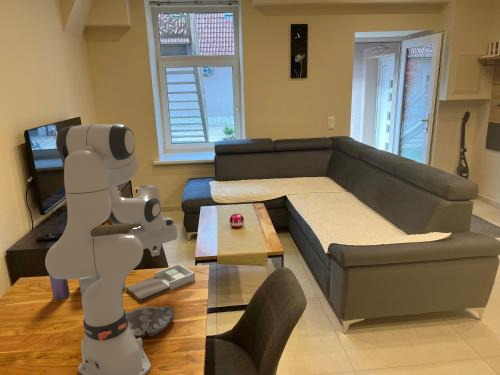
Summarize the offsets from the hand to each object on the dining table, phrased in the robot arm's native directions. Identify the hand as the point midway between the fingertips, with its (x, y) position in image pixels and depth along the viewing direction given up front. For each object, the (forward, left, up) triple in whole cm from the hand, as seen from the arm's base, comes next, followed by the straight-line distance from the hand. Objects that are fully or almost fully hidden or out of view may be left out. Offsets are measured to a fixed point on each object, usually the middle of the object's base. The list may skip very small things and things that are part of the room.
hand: (155, 255), depth 155 cm
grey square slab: (-2, +6, -13) cm, 14 cm away
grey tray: (-2, -7, -13) cm, 15 cm away
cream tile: (-5, -7, -13) cm, 15 cm away
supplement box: (+15, +18, -14) cm, 27 cm away
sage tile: (+1, -7, -13) cm, 15 cm away
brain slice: (-24, +18, -14) cm, 33 cm away
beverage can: (+19, +33, -14) cm, 40 cm away
